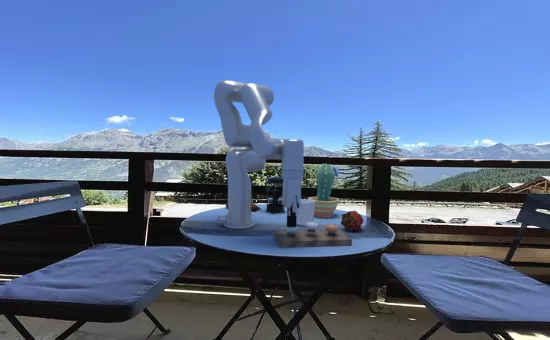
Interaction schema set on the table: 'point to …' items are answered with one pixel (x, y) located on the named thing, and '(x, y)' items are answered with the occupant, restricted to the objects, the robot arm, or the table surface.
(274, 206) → the french press
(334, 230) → the terracotta button
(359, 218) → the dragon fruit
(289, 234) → the sage button
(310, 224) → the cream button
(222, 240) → the table surface
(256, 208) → the sunglasses case
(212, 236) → the table surface
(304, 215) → the white cup
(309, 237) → the button panel
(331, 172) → the potted cactus
